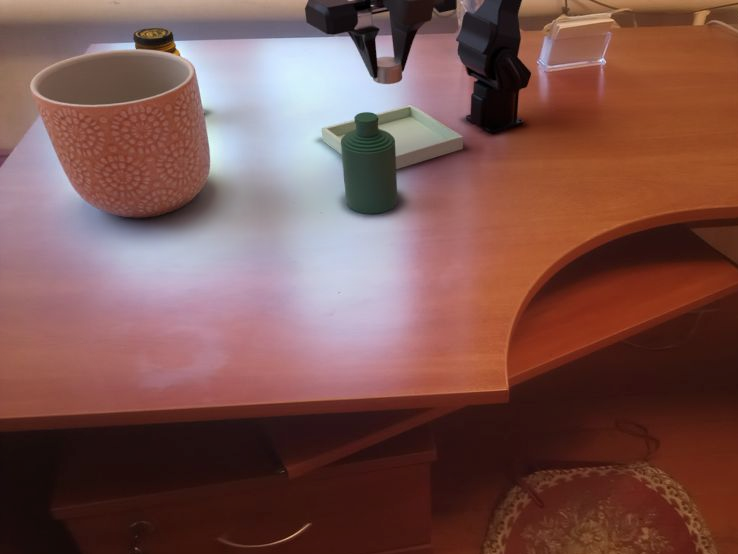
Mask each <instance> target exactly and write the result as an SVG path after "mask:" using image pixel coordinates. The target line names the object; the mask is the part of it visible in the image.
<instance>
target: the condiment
mask: <svg viewBox="0 0 738 554" xmlns="http://www.w3.org/2000/svg"><path fill="white" fill-rule="evenodd" d="M132 39H133V43H134V49H142V50H156V51H163V52H168V53H172V54H175V55H178V56H181V53H180V51H179V49H178V48H177V45H176V43H175V38H174V34H173V32H172V31H171V30H170V29H168V28H165V27H146V28H143V29H139V30H137V31H135V32H134V33H133V37H132ZM203 112H204V114H206V111H205V110H203Z"/></svg>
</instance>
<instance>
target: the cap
mask: <svg viewBox="0 0 738 554" xmlns="http://www.w3.org/2000/svg"><path fill="white" fill-rule="evenodd" d="M377 65H378V72H377V78H375V79H374V78H372V80H373V81H374V82H375V83H377V84H381V85H394V84H397V83H400V82H401V81H402V80H403V72H402V66H401V60H400V59H398V58H395V57H394V56H380V57H377Z"/></svg>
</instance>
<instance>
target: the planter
mask: <svg viewBox="0 0 738 554" xmlns="http://www.w3.org/2000/svg"><path fill="white" fill-rule="evenodd" d="M199 85H200V84H199V79H198V76H197V72H196V68H195V66H194V64H193V63H192V62H191V61H189V60H188V59H187V58H185V57H183V56H182V55H180V56H178V55H175V54H172V53H168V52H163V51H156V50H142V49H136V48H133V49H132V48H131V49H128V48H127V49H113V50H104V51H103V50H102V51H97V52H91V53H86V54H82V55H77V56H73V57H70V58H67V59H63V60H61V61H58V62H56V63H54V64H51V65H50V66H47V67H45V68H43V69H42V70H40V71H39V72H38V73H37V74H36V75H35V76H34V77H33V78H32V80H31V81H30V88H29V89H30V92H31V94H32V95H31V96H32V98H33V100H34V103H35V106H36V108H37V111H38V113H39V116H40V118H41V120H42V123H43V125H44V128H45V131H46V133H47V135H48V137H49V140H50V143H51V145H52V147H53V150H54V152H55V154H56V157H57V159H58V162H59V163H60V166H61V168H62V171H63V173H64V174H65V176H66V178H67V180H68V182H69V183H70V184H71V186H72V188H73V190H74V191H75V192H76V193H77V194H78V195H79V197H80V198H81V199H82V200H84V201H85V202H86V203H88V204H89V205H90V206H92V207H94V208H96V209H99V210H100V211H102V212H105V213H107V214H111V215H114V216H118V217H121V218H123V217H124V218H133V219H136V218H137V219H141V218H149V217H150V218H152V217H157V216H161V215H165V214H169V213H171V212H173V211H176V210H178V209H181V208H182V207H183V206H186V205H187V204H189V202H190V201H192V200H193V199H194V198H195V197H196V196H197V195H198V194H199V193H200V192H201V191H202V189H203V188H204V187H205V185H206V183H207V180H208V178H209V175H210V170H211V151H210V143H209V135H208V130H207V124H206V117H205V113H204V112H203V111H204V108H203V102H202V95H201V91H200V86H199Z"/></svg>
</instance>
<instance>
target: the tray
mask: <svg viewBox="0 0 738 554" xmlns="http://www.w3.org/2000/svg"><path fill="white" fill-rule="evenodd" d="M375 114H376V115H377V116H378V119H379V121H378V129H381V130H384V131H386V132H388V133H390V134H391V135H392V136H393V137H394V139H395V151H396V170H399V169H401V168H405V167H408V166H411V165H415V164H418V163H422V162H426V161H428V160H431V159H435V158H437V157H441V156H445V155H447V154H451V153H454V152H457V151H460V150H463V149H464V136H463V135H461V134H460V133H458V132H456V131H455V130H454V129H452V128H450V127H448V126H447V125H445V124H444V123H442V122H440V121H439V120H437V119H435V118H434V117H432V116H431V115H429V114H427V113H426V112H424V111H422V110H421V109H419V108H418V107H416V106H414V105H413V104H408V105H404V106H400V107H397V108H394V109H389V110H385V111H381V112H378V113H375ZM320 129H321V136H322V137H321V138H322V141H323V142H324V143H325V144H326V145H327V146H329V147H330V148H332V149H333V150H334V151H335V152H337V153H338V154H339V155H341V156H342V151H341V139H342V138H343V137H344V135H346V134H347V133H349V132H351V131H353V130H356V124H355V119H351V120H347V121H343V122H339V123H336V124H335V123H334V124H332V125H328V126H324V127H321V128H320Z"/></svg>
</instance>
